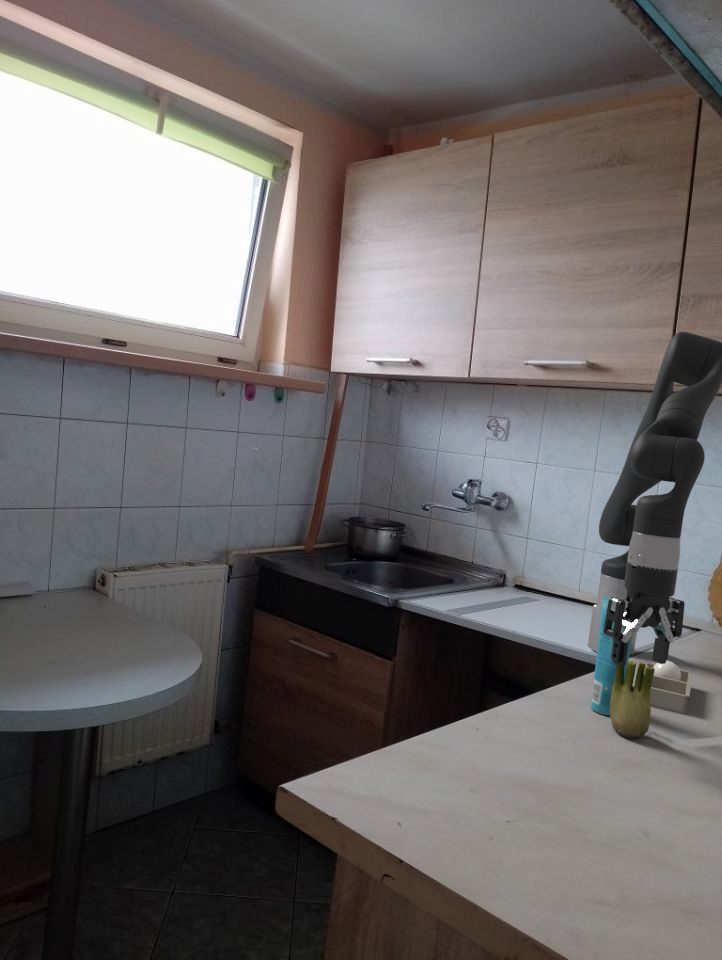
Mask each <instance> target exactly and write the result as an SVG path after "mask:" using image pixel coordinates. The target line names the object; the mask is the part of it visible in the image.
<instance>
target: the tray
mask: <svg viewBox="0 0 722 960" xmlns="http://www.w3.org/2000/svg"><path fill="white" fill-rule="evenodd" d="M643 663H645V670H644V675H645V671H646V667H647V665H648V666H652V667H653V666H654V665H655V664H656V663H654V662H653V663H652V662H648V661H643ZM679 670H680V672H681V680H680V681H678V680H674V679H669V678H665V677H661V676H656V675H653V680H652V684H651V691H650V707H654V708H655V707H656V708H659V709H664V710H668V711H671V712H677V713H681V714H684V715H688V708H689V701H690V694H691V687H692V680H693V679H692V678H693V671H689V670H685V669H680V668H679Z"/></svg>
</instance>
